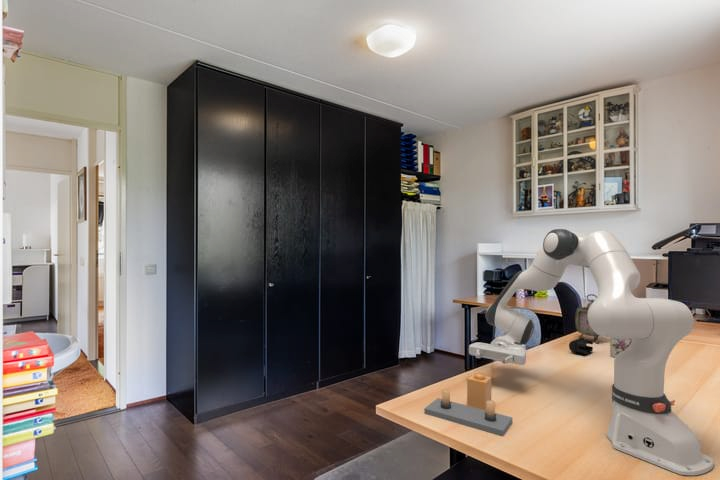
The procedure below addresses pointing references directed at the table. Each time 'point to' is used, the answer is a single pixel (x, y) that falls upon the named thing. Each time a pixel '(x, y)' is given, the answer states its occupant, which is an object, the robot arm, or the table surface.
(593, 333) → the tabletop clock
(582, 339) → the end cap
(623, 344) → the decorative jar
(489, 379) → the orange toy brick
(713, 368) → the table surface
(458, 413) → the mounting plate
